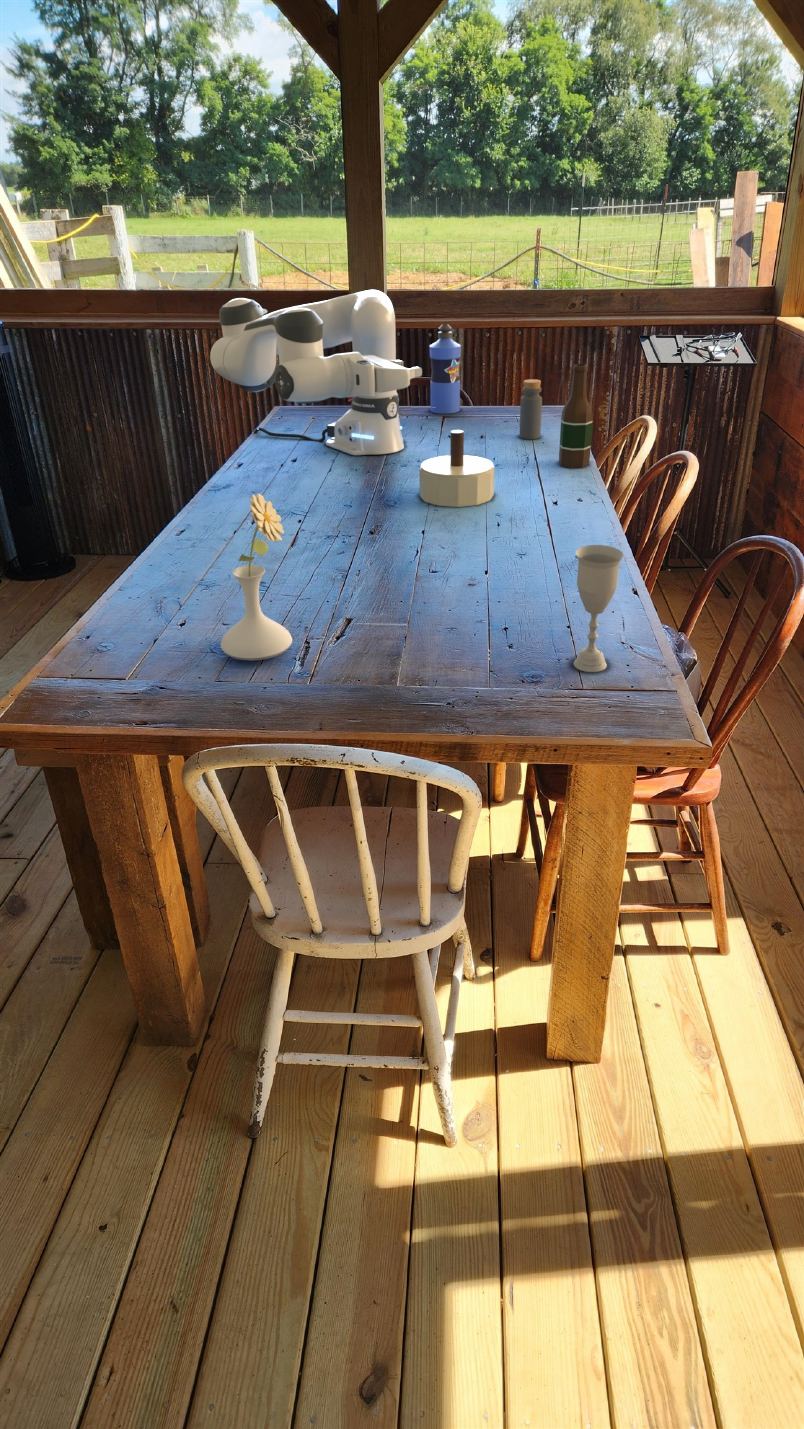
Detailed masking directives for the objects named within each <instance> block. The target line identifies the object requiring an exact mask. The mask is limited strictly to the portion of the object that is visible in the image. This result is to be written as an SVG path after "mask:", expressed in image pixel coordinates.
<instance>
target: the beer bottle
mask: <svg viewBox="0 0 804 1429" xmlns="http://www.w3.org/2000/svg"><path fill="white" fill-rule="evenodd" d="M572 370H573V371H572V372H573V373H572V381H571V388H570V395H569V399H568V400H567V401H566V403H565V404H564V406H563V409H562V411H561V417H560V434H559V446H558V447H559V448H558V449H559V450H558V462H559V464H560V466H561V467H564V468H569V469H579V468H581V469H582V468H585V467H588V466H589V463H590V458H591V447H592V435H593V432H592V431H593V422H594V421H593V417H594V414H593V409H592V407H591V404H590V402H589V401H588V397H587V396H588V395H587V386H588V385H587V382H588V381H587V377H588V376H587V375H588V374H587V373H588V370H589V366H588V365H587V364H585V363H577V364H573V366H572Z"/></svg>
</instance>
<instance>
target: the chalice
mask: <svg viewBox="0 0 804 1429" xmlns="http://www.w3.org/2000/svg"><path fill="white" fill-rule="evenodd" d="M575 555H576V557H577V561H578V562H577V574H576V586H577V590H578V593H579V598H580V600H581V603H582V605H583V608H584V610H585V611H586V612H587V613H588V614H590V617H591V618H590V619H589V620H590V621H589V622H588V623H587V625H588V627H589V632H588V633H587V634H586V637H587V638H588V644H587V646H585V647H583V648H582V649H580V650H579V652H578V654H577V656H576V659H575V660H574V661H573V666H574V668H576V669H577V670H579V671H581V672H582V671H583V672H586V673H598V672H601V671H602V672H603V671H604V670H605V669H607V667H608V665H607V662H606V659H605V656H604V653H603V652H602V650H601V649H600V648H598V647H597V646H596V640H597V639H598V638H599V635H598V634H597V629H598V627H599V623H598V616H599V615H600V614H603V613H604V612H605V610H606V609H607V607H608V606H609V604H610V602H611V601H612V599H613V597H614V594H615V592H616V590H617V588H618V582H619V572H620V563H621V561H622V560H623V558H624V555H625V554H624V553H623V552H622V550H620V549H618V548H616V547H613V546H611V545H603V544H589V545H584V546H581V547H579V548H577V549H576V551H575Z"/></svg>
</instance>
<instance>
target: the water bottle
mask: <svg viewBox="0 0 804 1429" xmlns="http://www.w3.org/2000/svg"><path fill="white" fill-rule="evenodd" d="M438 329H439V331H438V332H437V338H438V339H437V340H436V341H435V342H433V343H432V344H429V358H430V359H429V360H430V367H431V375H430V412H431V413H434V414H441V415H443V414H444V415H446V414H447V415H448V414H455V413H458V412H460V411H461V380H460V379H461V378H460V372H459V369H460V360H461V355H462V350H461V349H462V348H461V347H462V346H461V344H460V343H458V342H456V341H454V340H453V339H452V338H453V331H451V330H452V327H451V325H450V324H448V323H442V324H441V325H440V326H439V327H438ZM431 407H436V408H431Z"/></svg>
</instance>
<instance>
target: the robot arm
mask: <svg viewBox="0 0 804 1429" xmlns="http://www.w3.org/2000/svg"><path fill="white" fill-rule="evenodd" d="M218 315H219V316H218V317H219V318H218V319H219V324H220V326H221V333H222V337H221V338H219V339H217V340H216V341H215V342H214V343H213V345H212V347H211V349H210V355H209V359H210V364H211V366H212V368H213V370H214V371H215V372H216V373H217V374H218V375H219V376H221V377H222V378H224V379H225V380H227V381H229V382H231V383H233V384H237V386H238V387H239V388H240V389H241V390H243V391H244V392H248V393H249V392H250V393H259V392H262V391H265V390H267V389H268V388H270V387H273V385H275V389H276V391H277V394H278V395H279V396H280V398H281V399H282V400H284V401H286V402H293V403H297V404H300V405H301V404H302V405H303V404H314V403H319V402H321V401H325V400H328V399H329V398H336V399H344V398H347V402H351V405H350V409H348V410H347V411H346V412H345V413H344V414H343V415H341V417H340V418H338V419H337V420H336V421H335V422H332V423H329V424H326V428H325V429H323V430H322V432H321V437H320V438H319V439H316V438H312V437H310V436H306V435H304V434H298V433H297V434H296V433H279V432H272V431H269V430H267V429H265V428H263V427H258V428H259V430H257V428H255V430H254V431H253V434H258V433H259V432H263V433H265V434H266V435H268V436H271V437H276V438H277V437H279V438H298V439H302V440H306V441H313V442H320V443H322V442H324V441H325V445H326V446H327V447H330V448H332V449H336V450H338V451H341V452H344V453H346V454H348V455H351V456H364V455H366V456H367V455H387V454H392V453H393V454H394V453H397V452H399V451H402V450H403V449H405V444H404V437H403V436H402V429H403V426H401V422H400V415H399V407H400V398H399V393H398V392H397V391H398V390H403V389H406V388H408V387H409V386H410V385H411V380H412V379H415V378H419V377H422V376H423V369H422V367H419V366H413V367H411V368H408V367H405V366H404V361H403V360H400V359H397V346H396V344H397V341H396V338H397V337H396V314H395V309H394V306H393V302H392V301H391V299H390V298H389V296H387V295H386V294H385V293H384V292H382V291H380V290H377V289H368V290H363V291H358V292H355V293H351V294H346V295H341V296H337V297H334V298H330V299H328V300H322V301H317V302H312V303H306V304H301V305H294V306H291V307H286V308H282V309H278V310H275V311H272V312H270V313H268V310H267V309H266V308H262V306H261V305H260V304H259V303H258V302H256V301H255V300H254V299H251V298H245V297H238V298H233V299H231V300H229V301H227V302H226V303H225V304H223V305H222V306H221V308H220V309H219V314H218ZM350 342H351V343H352V344H351V346H352V351H351V352H342V353H335V354H332V355H329V356H325V355H324V349H330V348H334V347H336V346H337V347H338V346H340V345H343V344H346V343H350ZM277 356H278V365H277ZM326 435H327V438H329V439H327V440H326Z"/></svg>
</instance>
